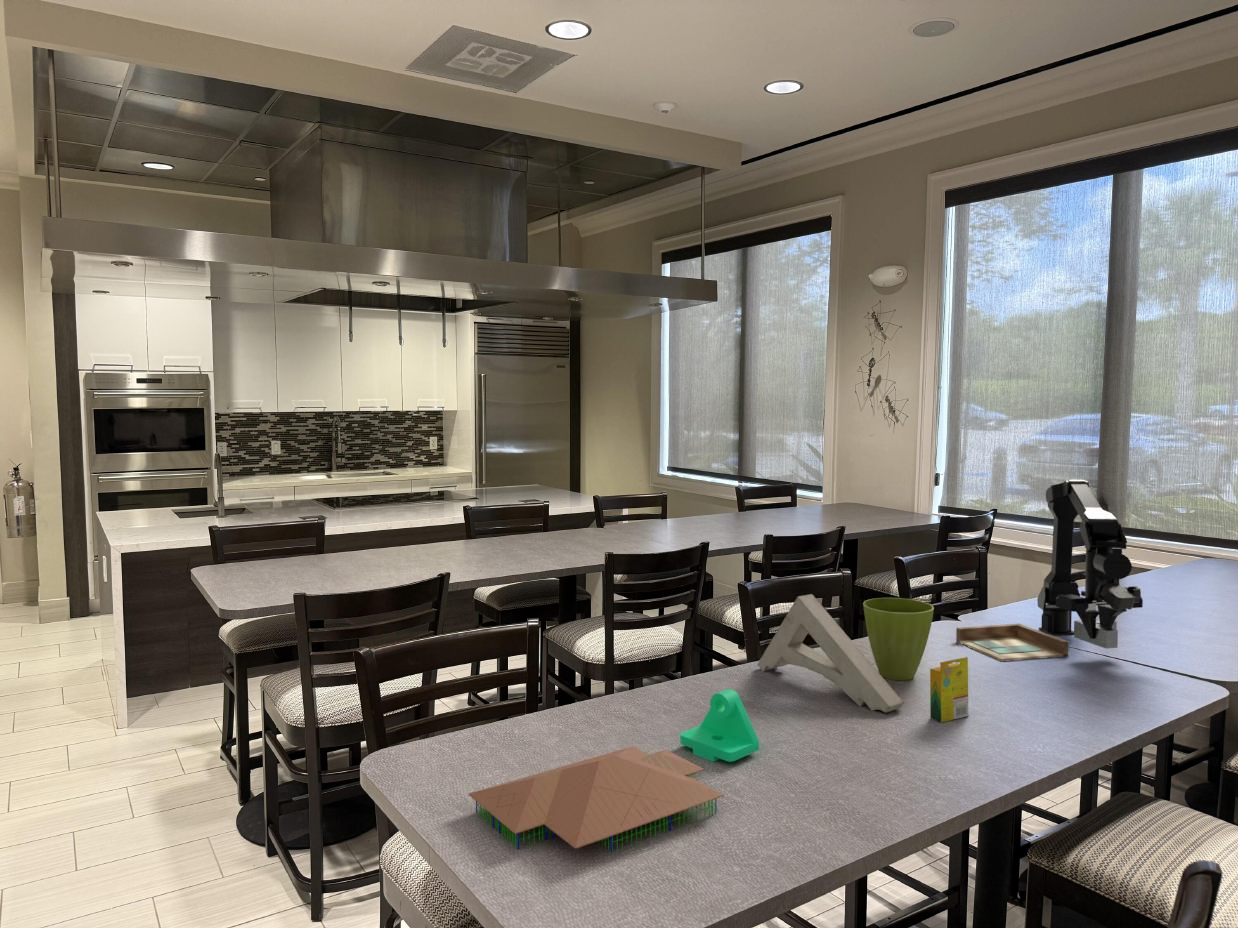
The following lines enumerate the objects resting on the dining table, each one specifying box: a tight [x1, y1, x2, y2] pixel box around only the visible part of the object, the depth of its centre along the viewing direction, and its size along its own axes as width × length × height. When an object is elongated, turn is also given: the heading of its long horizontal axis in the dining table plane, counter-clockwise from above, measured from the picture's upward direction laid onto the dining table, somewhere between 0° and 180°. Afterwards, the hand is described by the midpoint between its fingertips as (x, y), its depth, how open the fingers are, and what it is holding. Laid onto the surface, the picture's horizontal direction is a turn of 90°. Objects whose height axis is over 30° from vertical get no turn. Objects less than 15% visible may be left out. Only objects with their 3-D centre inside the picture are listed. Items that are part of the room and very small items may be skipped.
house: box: [467, 746, 725, 853], centre depth 125 cm, size 23×33×8 cm
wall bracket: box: [757, 593, 905, 713], centre depth 179 cm, size 22×4×30 cm
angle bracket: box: [1073, 618, 1119, 650], centre depth 195 cm, size 10×9×4 cm
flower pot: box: [862, 597, 935, 681], centre depth 187 cm, size 15×15×16 cm
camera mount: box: [679, 688, 760, 763], centre depth 146 cm, size 12×8×10 cm, turn 43°
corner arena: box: [955, 623, 1070, 662], centre depth 208 cm, size 18×18×4 cm
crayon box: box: [929, 656, 969, 724], centre depth 161 cm, size 7×3×12 cm, turn 115°
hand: (1098, 637), depth 194 cm, fingers closed on angle bracket, 3 cm apart
